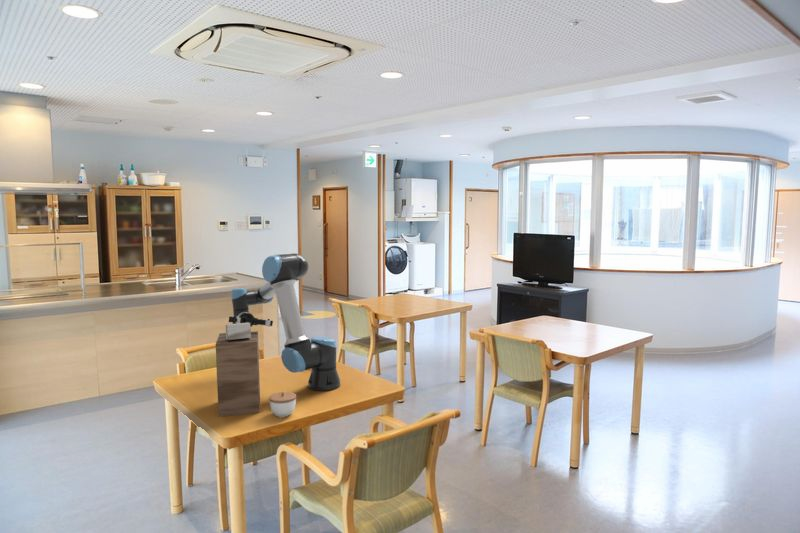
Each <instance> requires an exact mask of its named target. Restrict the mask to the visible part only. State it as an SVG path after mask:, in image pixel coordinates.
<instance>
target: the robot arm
mask: <svg viewBox="0 0 800 533" xmlns="http://www.w3.org/2000/svg"><path fill="white" fill-rule="evenodd" d="M308 271H309V262H308V261H307V259H306V258H305V257H304V255H302V254H299V253H287V254H286V253H284V254H273V255H269V256H267V257H266V258H265V259H264V261H263V263H262V267H261V272H262V277H263V278H264V280H265V281H267V282H266V283H264V285H262V286H260V287H259V288H258V289H254V290H247V288H246V287H241V288H240V287H239V288H233V289H232V290H231V294H230V296H231V298H230V299H231V303H232V312H233V313H232V314H233V316H229V317H228V323H232V324H237V323H247V322H248V323H250V327H251V328H252V327H253V326H265V327H267V328H268V327H273V323H274V321H273V320H270V318H267V319H262V318H260V319H259V318H258V317H255V315H253V314H252V313H250V310H249V308H250V307H249V306H256V305H263V304H265V305H266V304H267V303H268V304H269V303H270V302H272V301H273V299H274V297H275V296H276V299H277V304H278V308H279V313H280V317H281V320H282V321H281V322H282V325H283V330H284V335H285V339H286V341H285V342H284V344H283V346H284V349H282V352H281V354H280V355H281V356H280V357H281V361H282V365H283V367H285V369H286V370H287V371H288V372H290V373H295V374H296V373H301V372H305V371H306V370H307V371H308V370H311V372H310V375H309V378H308V382H307V386H308V388H309V390H312V391H321V392H322V391H331V390H335V389H337V388H339V387H341V379H340V376H339V373H338V369H337V343H336V340H335V339H334V338H331V337H327V336H315V337H311V338H309V336H306V334H305V329H304V323H303V318H302V316H301V311H300V306H299V302H298V298H297V295H296V290H295V284H296V282H297V281H300V280H301V279H302V278H303V277H305V276H306V274H307V273H308Z"/></svg>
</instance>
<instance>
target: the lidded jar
mask: <svg viewBox="0 0 800 533" xmlns="http://www.w3.org/2000/svg"><path fill="white" fill-rule="evenodd" d="M268 398H269V407H270V410H271V412H272V414H274V416H276V417H277V416H278V417H277V418H285V417H284V416H287V417H289V416H288V415H290V414H292V413H293V412H294V411H295V409H296V404H297V394H296V393H294V392H290V391H281V392H275V393H273V394H271V395H269V397H268ZM290 416H291V415H290Z"/></svg>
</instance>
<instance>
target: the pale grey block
mask: <svg viewBox="0 0 800 533" xmlns="http://www.w3.org/2000/svg"><path fill="white" fill-rule="evenodd" d="M251 328H252V327H250V323H248V322H247V323H237V324H233V323H229V324H227V323H226V324H225V333H226V339H227V340H233V339H243V338H251V332H252V331H251V330H252V329H251Z"/></svg>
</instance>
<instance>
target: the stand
mask: <svg viewBox="0 0 800 533" xmlns="http://www.w3.org/2000/svg"><path fill="white" fill-rule="evenodd" d="M259 351H260V350H259V331H258V330H257V331H251V338H243V339H233V340H227V339H226V332H224V333H219V335H218V337H217V339H216V341H215V363H216V384H217V385H216V388H217V408H218V410H217V412H218V416H217V417H227V416H238V415H249V414H250V415H252V414H259V413H260V408H261V407H260V405H261V387H260V385H261V384H260V382H261V381H260V360H259V358H260V357H259V356H260V354H259Z"/></svg>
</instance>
